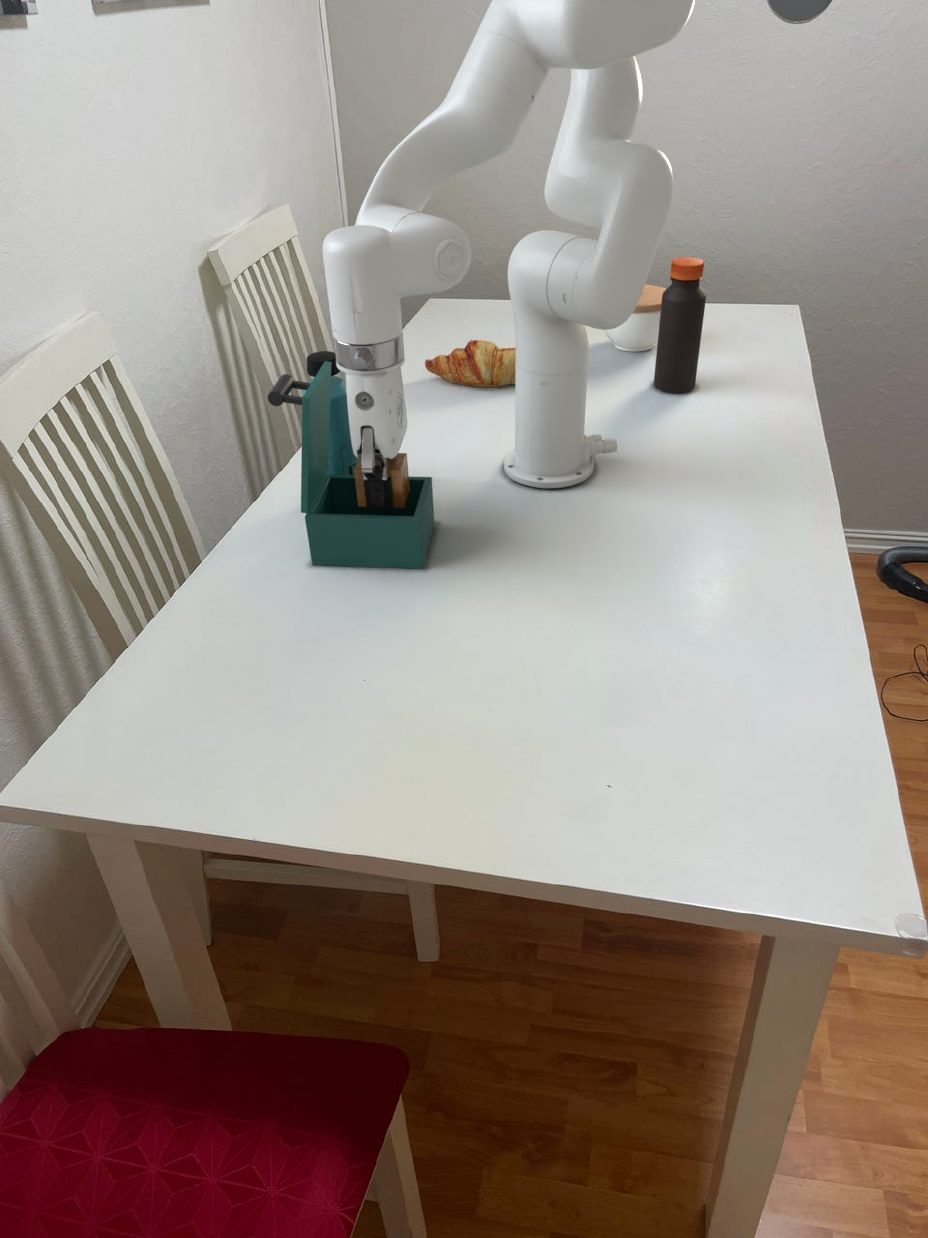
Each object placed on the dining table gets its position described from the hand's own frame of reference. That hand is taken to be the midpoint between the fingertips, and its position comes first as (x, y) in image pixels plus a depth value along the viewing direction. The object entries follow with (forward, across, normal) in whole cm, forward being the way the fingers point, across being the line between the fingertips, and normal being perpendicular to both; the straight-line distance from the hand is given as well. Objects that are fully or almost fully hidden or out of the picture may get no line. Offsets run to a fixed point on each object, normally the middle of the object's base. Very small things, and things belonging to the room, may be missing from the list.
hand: (384, 495), depth 110 cm
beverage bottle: (+7, +11, +9) cm, 16 cm away
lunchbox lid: (-8, 0, +7) cm, 10 cm away
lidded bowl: (+8, +71, -33) cm, 79 cm away
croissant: (+7, +53, -8) cm, 54 cm away
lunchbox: (+7, 0, +2) cm, 7 cm away
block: (0, 0, 0) cm, 0 cm away
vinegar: (+8, +52, -39) cm, 65 cm away
